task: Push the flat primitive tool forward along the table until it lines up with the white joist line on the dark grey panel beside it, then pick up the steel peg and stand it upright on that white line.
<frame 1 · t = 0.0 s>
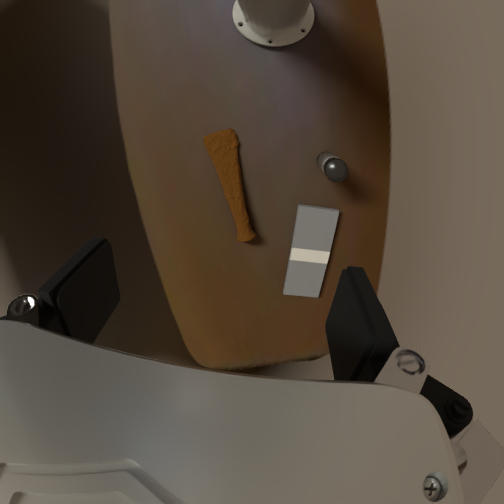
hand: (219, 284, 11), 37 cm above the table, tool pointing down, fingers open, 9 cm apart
steel peg: (326, 161, 43), on the table
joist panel: (309, 253, 51), on the table
primitive tool: (231, 184, 47), on the table
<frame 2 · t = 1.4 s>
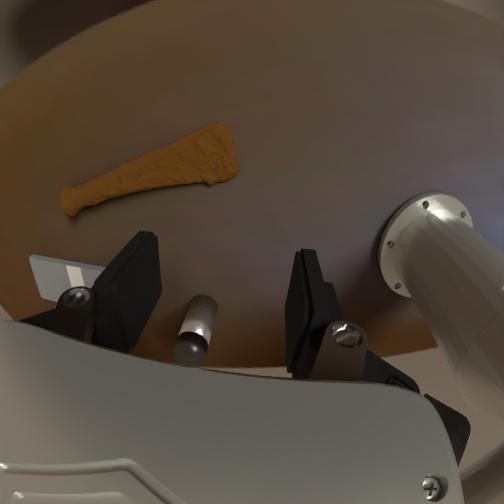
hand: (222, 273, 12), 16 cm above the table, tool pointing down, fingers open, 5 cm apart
steel peg: (204, 305, 32), on the table
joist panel: (82, 284, 33), on the table
primitive tool: (144, 168, 26), on the table
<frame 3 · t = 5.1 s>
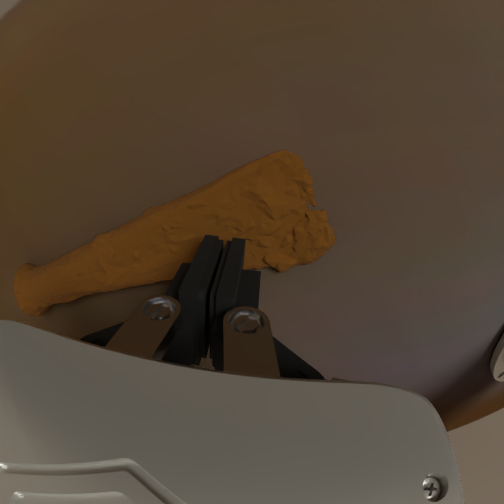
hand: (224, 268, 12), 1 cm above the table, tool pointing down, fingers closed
primitive tool: (144, 236, 14), on the table
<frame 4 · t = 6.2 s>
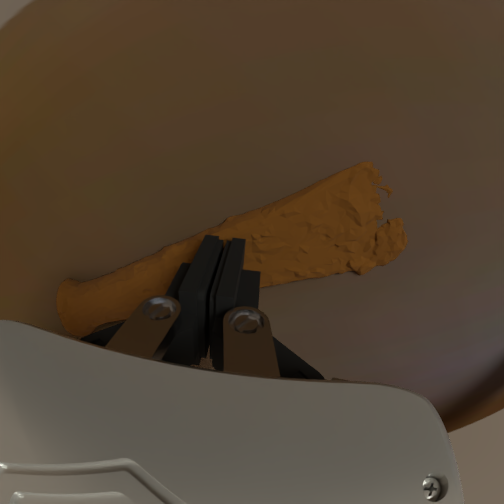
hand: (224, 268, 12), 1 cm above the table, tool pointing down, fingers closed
primitive tool: (216, 245, 14), on the table, touching gripper
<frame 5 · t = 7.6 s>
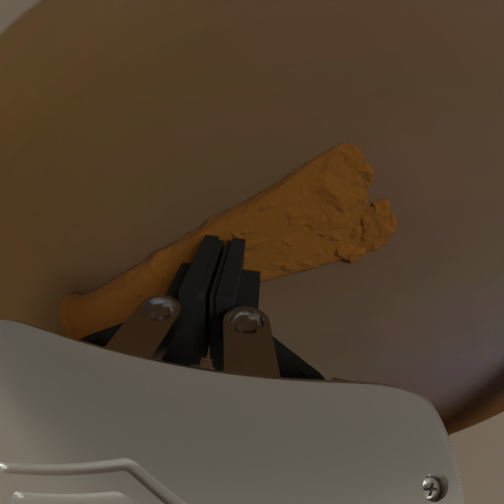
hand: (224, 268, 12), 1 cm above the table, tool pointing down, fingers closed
primitive tool: (204, 247, 14), on the table, touching gripper
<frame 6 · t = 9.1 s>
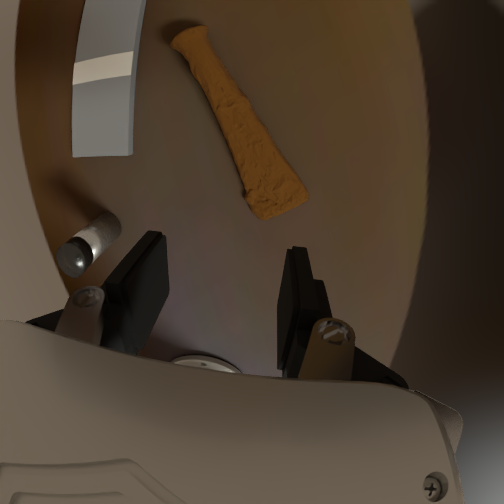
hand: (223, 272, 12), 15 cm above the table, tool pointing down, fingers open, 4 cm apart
steel peg: (109, 226, 28), on the table
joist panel: (106, 68, 20), on the table
primitive tool: (243, 120, 23), on the table
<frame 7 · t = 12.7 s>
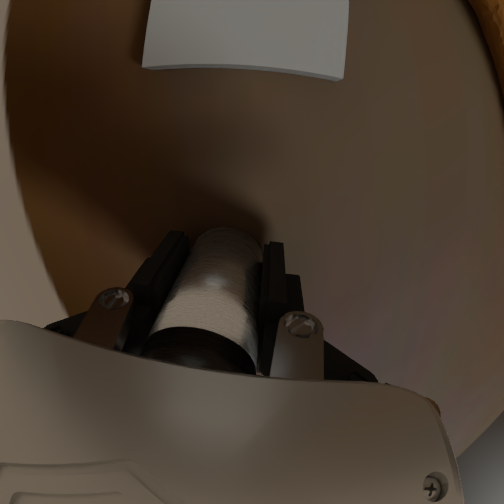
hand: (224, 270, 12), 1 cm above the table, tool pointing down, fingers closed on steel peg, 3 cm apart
steel peg: (226, 260, 12), on the table, touching gripper
when the fingers open (3 cm above the table, at t = 18.3 s): steel peg stays where it is, resting on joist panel.
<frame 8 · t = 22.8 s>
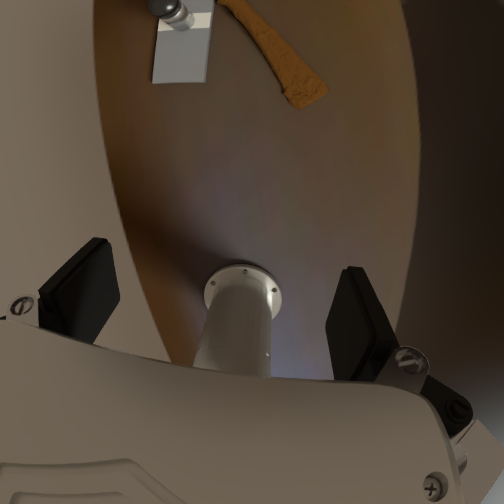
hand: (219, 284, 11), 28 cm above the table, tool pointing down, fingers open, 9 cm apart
steel peg: (183, 21, 26), point 1 cm above the table, touching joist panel
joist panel: (186, 23, 27), on the table
primitive tool: (273, 45, 29), on the table
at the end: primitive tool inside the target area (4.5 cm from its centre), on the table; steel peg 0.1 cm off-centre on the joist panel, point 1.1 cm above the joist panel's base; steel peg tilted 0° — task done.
